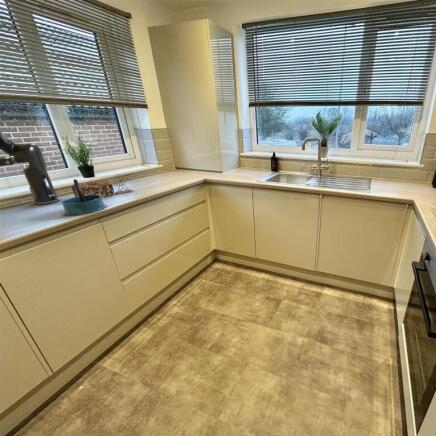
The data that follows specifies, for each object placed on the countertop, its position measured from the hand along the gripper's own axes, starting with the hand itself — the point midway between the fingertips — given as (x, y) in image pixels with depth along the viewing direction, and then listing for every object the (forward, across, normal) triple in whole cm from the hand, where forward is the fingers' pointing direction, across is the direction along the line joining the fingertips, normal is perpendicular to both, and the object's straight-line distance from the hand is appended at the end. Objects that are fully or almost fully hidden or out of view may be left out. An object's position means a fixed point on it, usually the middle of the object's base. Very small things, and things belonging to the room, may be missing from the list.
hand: (28, 158), depth 108 cm
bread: (+21, +25, +29) cm, 44 cm away
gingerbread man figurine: (+36, +23, +29) cm, 52 cm away
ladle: (+13, -1, +28) cm, 31 cm away
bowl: (+13, -1, +28) cm, 31 cm away
